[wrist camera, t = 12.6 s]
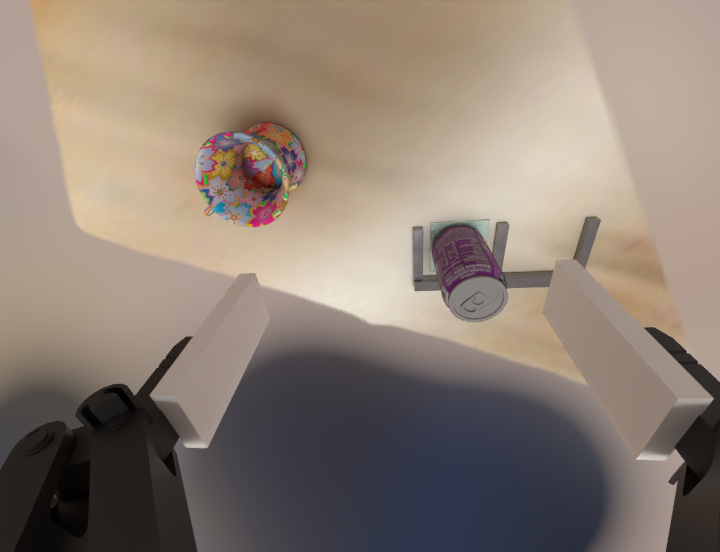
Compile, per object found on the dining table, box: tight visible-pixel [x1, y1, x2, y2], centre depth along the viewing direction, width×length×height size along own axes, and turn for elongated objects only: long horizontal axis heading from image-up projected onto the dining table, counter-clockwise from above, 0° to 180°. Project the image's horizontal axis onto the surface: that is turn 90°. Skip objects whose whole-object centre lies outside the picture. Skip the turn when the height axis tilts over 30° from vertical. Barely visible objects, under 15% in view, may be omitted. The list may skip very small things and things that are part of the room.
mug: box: [195, 123, 306, 227], centre depth 36 cm, size 12×9×11 cm
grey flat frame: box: [413, 217, 601, 291], centre depth 44 cm, size 10×23×2 cm, turn 96°
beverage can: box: [432, 226, 508, 322], centre depth 39 cm, size 7×7×12 cm
